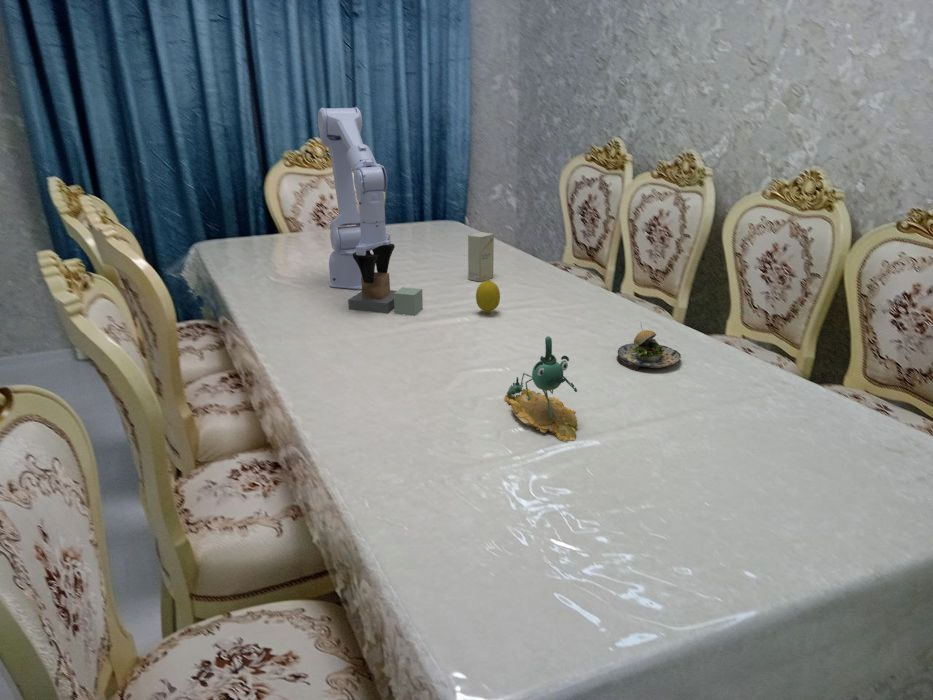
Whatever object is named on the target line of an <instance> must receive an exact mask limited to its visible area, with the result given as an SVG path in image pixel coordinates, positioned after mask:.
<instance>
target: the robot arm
mask: <svg viewBox="0 0 933 700" xmlns="http://www.w3.org/2000/svg"><path fill="white" fill-rule="evenodd" d="M317 125H318V132H319V138H320V142H321V145H322V146H324V147H326V148H328V151H329V156H330V159H331V168H332V172H333V173H332V175H333V181H334V187H335V193H336V200H337V209H338V215H336V216H335V218H334V219H332V220H331V222H330V223H329V230H330V235H329V238H330V244H331V248H332V252H331V253H330V255H329V257H328V258H329V259H328V270H329V280H330V282H329V283H330V284H329V285H328V286H329V287H330V288H338V289H339V288H341V289H350V290H351V289H352V290H361V291H362V284H361V277H362V278H363V281H364V283H370V284H372V283H373V282H374V272H375V271H376V272H378V273H388V271H389V266H390V260H391V257H392V254H393V251H394V250H395V244H394V243H392V241H391V233H386V231H387V230H386V229H387V228H386V211H385V209H386V207H385V194H384V193H385V192H387V189H388V175H387V172H386V168H385V167H384V165H381V163H378V162H377V161H376V159H375V157H374V154H373V152H372V151H371V148H370V147H369V146H368V145H367V144H364V143H363V140H362V136H361V132H362V130H363V116H362V112H361V110H360V109H359V108H358V107H357V106H355V107H336V108H335V107H334V108H333V107H330V108H327V107H320V109H319V110H318V111H317ZM357 201H358V205H357ZM358 211H359V212H358ZM371 251H372V252H371ZM375 268H376V269H375Z"/></svg>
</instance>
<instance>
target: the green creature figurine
mask: <svg viewBox="0 0 933 700" xmlns="http://www.w3.org/2000/svg"><path fill="white" fill-rule="evenodd" d="M544 341H545V343H544V344H545V353H544V354H545V355H544V356H543V355H541V356H540V358H539V360H538V361H537V362H536V363H535V364H534V365H533V369H532V370H531V371H532V372H531V375H529V374H527V373H525V372H523V373H522V377H521V380H520V381H521V382H519V377H518V376H516V379H515V380H516V381H515V382H514V381H513V382H512V384H511V385H510V386H509V389H508V390H507V392H506V394H505V395H504V398H503V399H504V401H505V402H507V404H508V405H509V404H510V405H511V406H510V409H511V410H512V412H513V413H514V415H515V417H517V418H518V419H519V420H520V421H521V423H523V424H524V425H526V426H531V427H532V428H535V429H536V431H539V432H541V433H543V434H546V432H548V431H549V432H551V433H552V434H554V435H555V437H556V438H557V439H558V440H560V441H563V442H565V443H568V441H575V440H577V434H576V429H577V428H578V426H579V425H578V420H577V419H576V418H577V416H576V413H577V411H575V410H574V409H573V410H572V409H571V408H568V407H566V406H565V404H564V402H563V401H561V400H560V399H559V398H556V397H554V396H549V395H548V392H550V393H551V395H553V393H554V390H556V389H558V388H559V387H560V386H561V384H563V383H564V382H565V383H567V384H568V386H570V387H571V389H573V391H574V392H575V393H577V392H578V389H577V387H575V385H574V383H573V382H570V381H569V380H568V379H567V377H565V375H564V371H566V370H567V369H568V366H569V364H568V362H569V361H570V358H569V357H568V356H567V355H562V356H561V358H560V359H561V362H560V363H559V362H558V361H557V358H556V357H555V355H554V354H553V340H552V337H551V336H546V337H545V340H544ZM525 376H527V377H530V379H529V380H527V381H525V387H526V388H523V387H524V382H523V381H524V380H523V379H524V377H525ZM531 381H532V382H533V384H534V385H535V387H536V388H537V389H539V390H542V392H543V394H542V393H541V392H536V391H535V390H531V389H529V388H528V384H527V383H529V382H531Z"/></svg>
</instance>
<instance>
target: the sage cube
mask: <svg viewBox="0 0 933 700" xmlns="http://www.w3.org/2000/svg"><path fill="white" fill-rule="evenodd" d="M395 291H396V292H395V293H394V308H395V309H394V314H395V315H403V314H405V316H412V315H413V316H417V315H418V314H419V313H420V312H421V311H422V310H423V309H424V307H423V305H424V304H423V288H415V287H413V288H412V287H405V286H402V287H401V288H399V289H398V290H395Z"/></svg>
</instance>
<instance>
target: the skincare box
mask: <svg viewBox="0 0 933 700" xmlns="http://www.w3.org/2000/svg"><path fill="white" fill-rule="evenodd" d="M494 235H495V234H494V233H491V232H484V231H480V232H476V233H473V234H472V233H471V234H468V236H467V241H468V243H467V244H468V246H467V248H468V250H467V252H468V253H467V255H468V256H467V257H468V258H467V262H468V263H467V264H468V265H467V269H468V273H467V274H468V275H467V278H468V280H470V281H473V282H481V283H482V282H485V281H486V280H490V279H492V278H494V244H495V243H494V240H495V238H494V237H495V236H494Z"/></svg>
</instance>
